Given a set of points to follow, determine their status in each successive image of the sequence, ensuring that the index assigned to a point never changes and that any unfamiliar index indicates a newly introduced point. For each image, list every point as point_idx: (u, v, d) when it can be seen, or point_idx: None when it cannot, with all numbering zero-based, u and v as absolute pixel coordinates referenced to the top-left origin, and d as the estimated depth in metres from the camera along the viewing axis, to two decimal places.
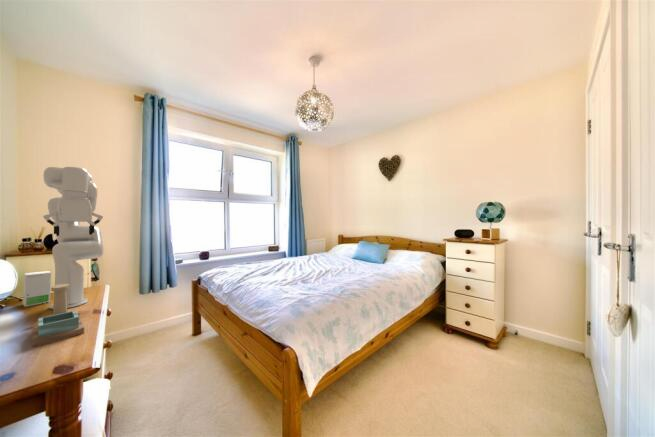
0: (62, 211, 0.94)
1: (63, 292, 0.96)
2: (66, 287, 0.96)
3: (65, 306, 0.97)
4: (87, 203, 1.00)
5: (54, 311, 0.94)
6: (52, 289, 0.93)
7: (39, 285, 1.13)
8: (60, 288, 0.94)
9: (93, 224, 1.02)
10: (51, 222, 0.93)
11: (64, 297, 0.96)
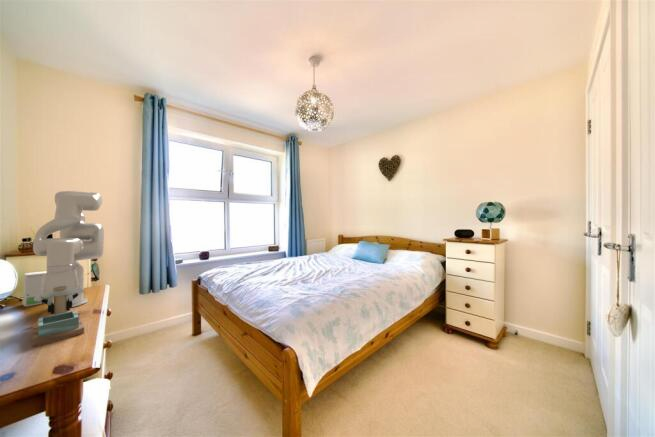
0: (46, 288, 0.92)
1: None
2: None
3: (65, 306, 0.97)
4: (73, 274, 0.98)
5: (54, 311, 0.94)
6: None
7: (39, 285, 1.13)
8: (60, 288, 0.94)
9: (71, 299, 0.98)
10: (45, 301, 0.93)
11: (64, 297, 0.96)
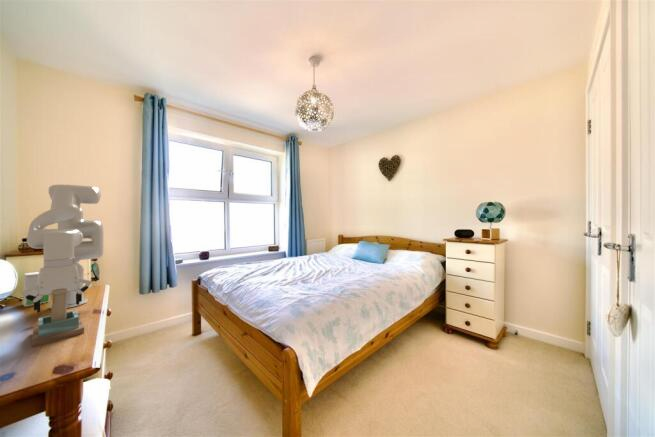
0: (43, 284, 0.82)
1: (63, 295, 0.86)
2: (66, 290, 0.86)
3: (64, 311, 0.87)
4: (73, 269, 0.88)
5: (52, 317, 0.85)
6: None
7: None
8: (59, 291, 0.85)
9: (80, 292, 0.90)
10: (30, 298, 0.81)
11: (64, 301, 0.87)
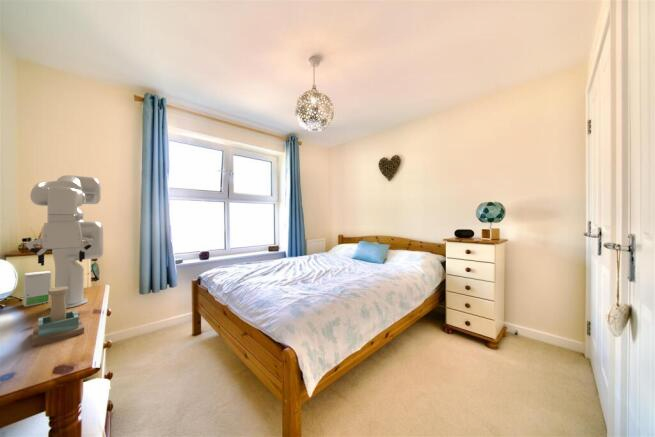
0: (47, 238, 0.83)
1: (62, 296, 0.86)
2: (65, 290, 0.86)
3: (64, 311, 0.87)
4: (77, 226, 0.89)
5: (52, 317, 0.85)
6: (49, 292, 0.84)
7: (39, 285, 1.13)
8: (58, 291, 0.84)
9: (83, 250, 0.91)
10: (35, 250, 0.82)
11: (63, 301, 0.86)
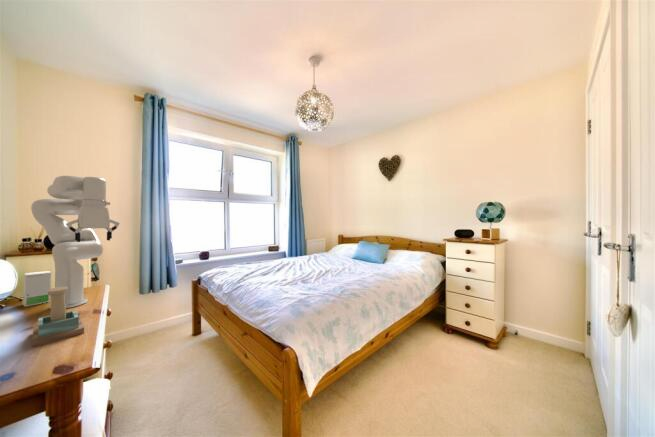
0: (83, 219, 1.00)
1: (61, 296, 0.86)
2: (65, 290, 0.86)
3: (64, 311, 0.87)
4: (105, 210, 1.06)
5: (51, 317, 0.84)
6: (49, 293, 0.83)
7: (39, 285, 1.13)
8: (58, 291, 0.84)
9: (111, 230, 1.08)
10: (73, 229, 0.99)
11: (62, 301, 0.86)
